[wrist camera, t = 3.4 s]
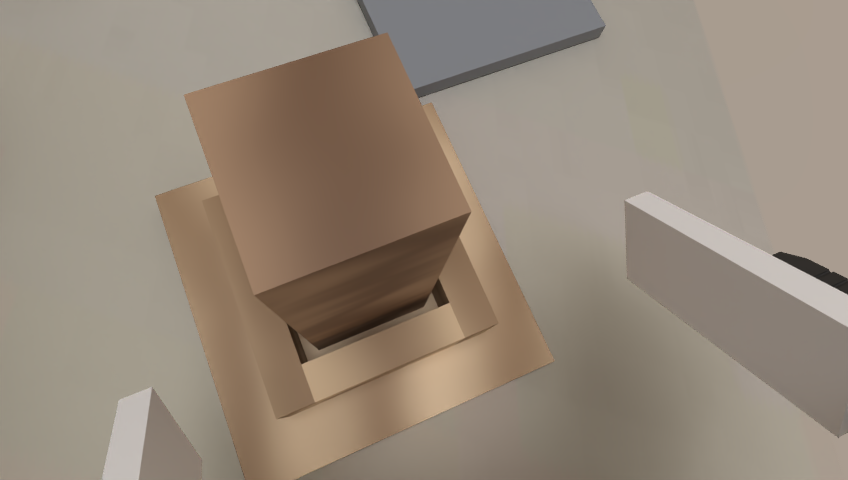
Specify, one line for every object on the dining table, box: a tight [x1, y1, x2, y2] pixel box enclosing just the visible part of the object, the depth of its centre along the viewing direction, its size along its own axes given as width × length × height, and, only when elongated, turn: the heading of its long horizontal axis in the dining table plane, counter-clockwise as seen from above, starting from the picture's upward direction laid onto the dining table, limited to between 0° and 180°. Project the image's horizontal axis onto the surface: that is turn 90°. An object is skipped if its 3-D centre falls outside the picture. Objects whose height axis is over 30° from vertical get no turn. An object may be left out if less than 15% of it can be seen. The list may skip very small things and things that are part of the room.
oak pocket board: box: [155, 103, 554, 480], centre depth 24 cm, size 14×14×4 cm
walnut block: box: [184, 32, 472, 350], centre depth 18 cm, size 5×5×13 cm
